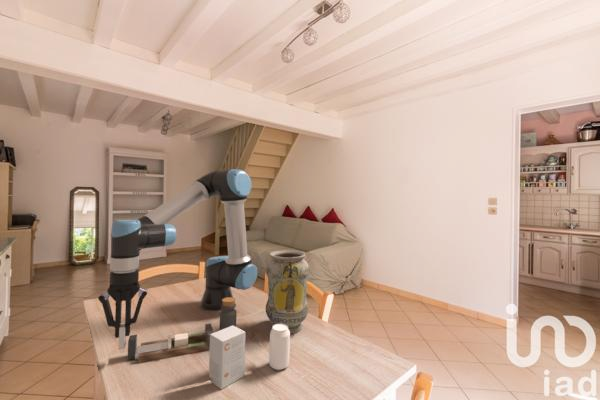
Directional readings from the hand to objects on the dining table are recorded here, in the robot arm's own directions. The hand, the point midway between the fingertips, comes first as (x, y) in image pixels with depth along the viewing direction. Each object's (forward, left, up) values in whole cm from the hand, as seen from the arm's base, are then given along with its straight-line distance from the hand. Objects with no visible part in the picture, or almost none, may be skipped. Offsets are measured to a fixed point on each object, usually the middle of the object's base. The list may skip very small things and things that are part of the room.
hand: (122, 346), depth 85 cm
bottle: (-32, -1, -5) cm, 33 cm away
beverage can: (-44, +20, -5) cm, 49 cm away
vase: (-56, -4, -5) cm, 57 cm away
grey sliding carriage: (-8, +1, -3) cm, 9 cm away
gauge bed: (-16, 0, -5) cm, 16 cm away
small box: (-28, +20, -5) cm, 35 cm away
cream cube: (-17, 0, -4) cm, 17 cm away
